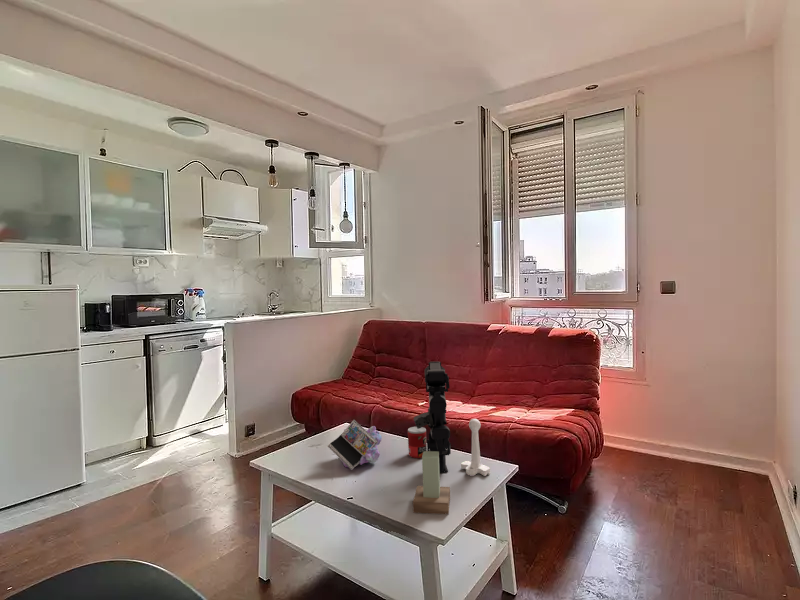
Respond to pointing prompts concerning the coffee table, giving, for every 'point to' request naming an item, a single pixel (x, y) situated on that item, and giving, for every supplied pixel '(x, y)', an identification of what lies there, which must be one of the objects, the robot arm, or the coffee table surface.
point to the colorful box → (357, 445)
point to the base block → (432, 502)
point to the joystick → (475, 453)
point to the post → (431, 474)
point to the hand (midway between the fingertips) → (438, 449)
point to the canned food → (417, 442)
